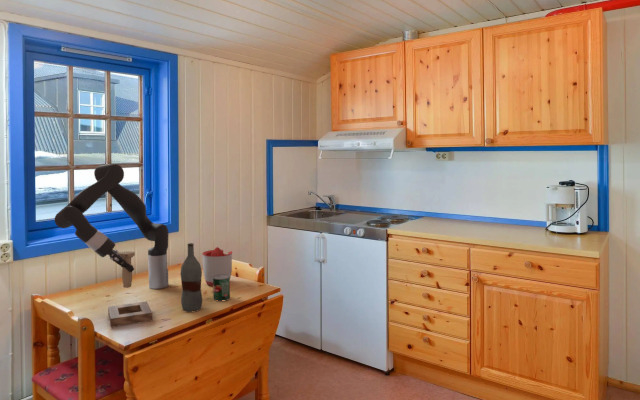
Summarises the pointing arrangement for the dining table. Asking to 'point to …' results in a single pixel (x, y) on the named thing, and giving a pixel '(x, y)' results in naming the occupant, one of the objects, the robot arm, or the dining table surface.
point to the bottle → (191, 282)
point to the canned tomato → (221, 287)
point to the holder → (129, 313)
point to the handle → (125, 273)
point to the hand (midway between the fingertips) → (132, 269)
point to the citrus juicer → (216, 264)
